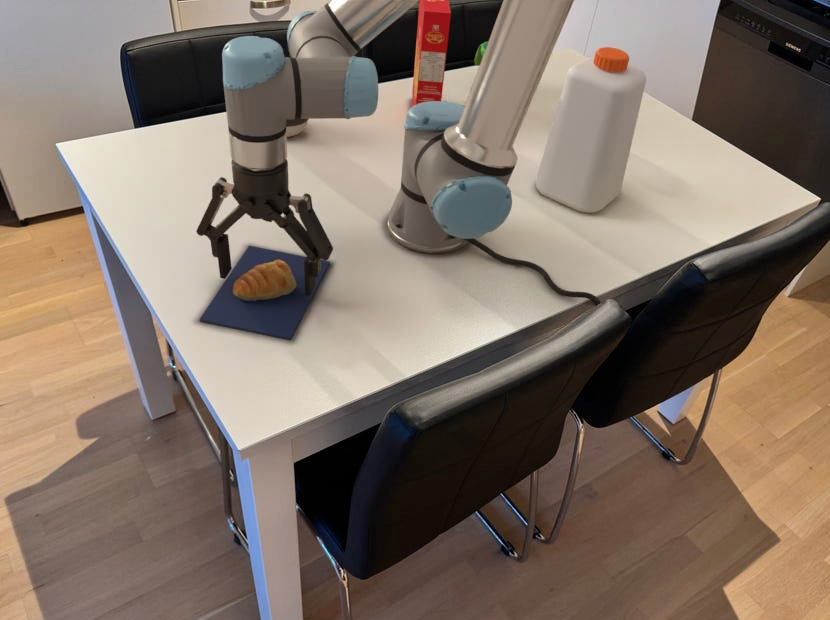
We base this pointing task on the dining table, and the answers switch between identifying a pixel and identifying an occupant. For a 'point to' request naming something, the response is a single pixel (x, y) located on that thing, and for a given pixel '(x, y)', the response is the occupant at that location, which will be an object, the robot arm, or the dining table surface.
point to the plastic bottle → (592, 132)
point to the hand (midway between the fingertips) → (268, 282)
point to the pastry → (265, 282)
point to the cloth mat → (263, 315)
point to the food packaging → (431, 50)
